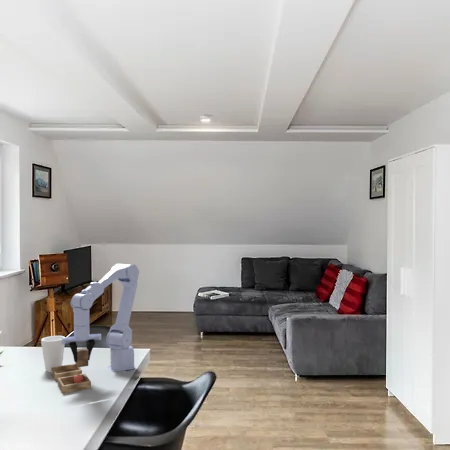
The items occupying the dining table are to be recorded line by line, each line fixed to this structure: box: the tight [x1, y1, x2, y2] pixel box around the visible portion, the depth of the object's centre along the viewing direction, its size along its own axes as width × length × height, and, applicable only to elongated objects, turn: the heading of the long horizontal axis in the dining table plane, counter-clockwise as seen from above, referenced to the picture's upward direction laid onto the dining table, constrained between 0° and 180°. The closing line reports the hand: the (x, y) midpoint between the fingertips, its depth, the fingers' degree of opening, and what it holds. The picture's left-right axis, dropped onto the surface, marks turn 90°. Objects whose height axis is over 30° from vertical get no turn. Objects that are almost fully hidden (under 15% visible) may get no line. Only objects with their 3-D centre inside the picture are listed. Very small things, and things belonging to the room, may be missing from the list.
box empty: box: [50, 363, 83, 382], centre depth 181 cm, size 10×10×3 cm
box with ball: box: [57, 373, 92, 394], centre depth 168 cm, size 10×10×3 cm
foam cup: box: [40, 335, 66, 373], centre depth 190 cm, size 10×9×13 cm
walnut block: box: [74, 347, 89, 368], centre depth 173 cm, size 4×4×6 cm
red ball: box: [74, 375, 83, 383], centre depth 170 cm, size 3×3×3 cm
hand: (81, 360), depth 173 cm, fingers closed on walnut block, 4 cm apart
